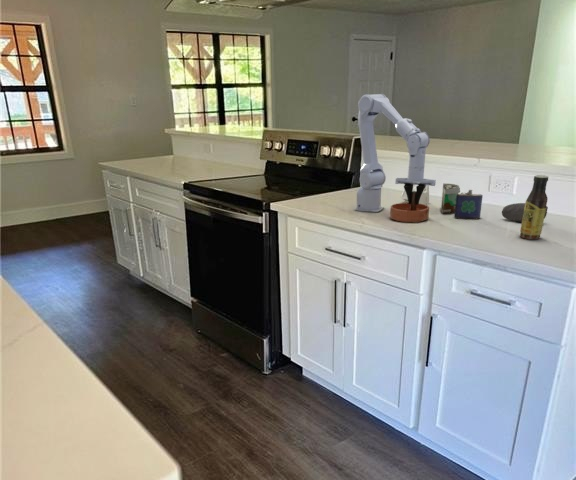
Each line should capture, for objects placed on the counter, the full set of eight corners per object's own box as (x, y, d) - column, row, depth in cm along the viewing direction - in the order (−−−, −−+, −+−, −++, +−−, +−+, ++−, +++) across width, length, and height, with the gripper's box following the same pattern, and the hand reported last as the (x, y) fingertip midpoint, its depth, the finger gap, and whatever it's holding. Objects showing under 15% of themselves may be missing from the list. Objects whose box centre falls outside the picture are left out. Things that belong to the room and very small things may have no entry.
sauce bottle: (515, 235, 167) (525, 174, 159) (533, 234, 167) (544, 173, 160) (525, 241, 161) (536, 177, 153) (544, 240, 161) (556, 177, 154)
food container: (459, 215, 195) (462, 189, 191) (443, 214, 196) (445, 188, 192) (456, 208, 206) (459, 183, 202) (440, 207, 207) (443, 183, 203)
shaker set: (399, 202, 220) (401, 176, 215) (404, 200, 223) (406, 174, 218) (424, 205, 212) (427, 178, 208) (429, 203, 215) (431, 177, 211)
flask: (479, 217, 190) (483, 189, 186) (480, 219, 188) (483, 190, 184) (454, 216, 193) (456, 188, 189) (454, 218, 190) (457, 190, 186)
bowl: (385, 221, 190) (385, 209, 188) (396, 212, 201) (396, 201, 200) (423, 224, 184) (424, 212, 182) (431, 215, 195) (432, 204, 193)
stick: (409, 213, 192) (410, 192, 189) (410, 211, 194) (412, 191, 191) (415, 213, 191) (416, 192, 188) (416, 212, 193) (418, 191, 190)
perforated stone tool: (498, 220, 186) (501, 201, 183) (503, 217, 189) (505, 199, 187) (542, 226, 177) (545, 206, 174) (546, 223, 180) (549, 203, 178)
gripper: (438, 166, 186) (435, 203, 191) (400, 164, 192) (397, 200, 197) (434, 169, 180) (431, 207, 186) (394, 167, 186) (392, 204, 192)
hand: (413, 203), depth 191 cm, fingers closed on stick, 2 cm apart
